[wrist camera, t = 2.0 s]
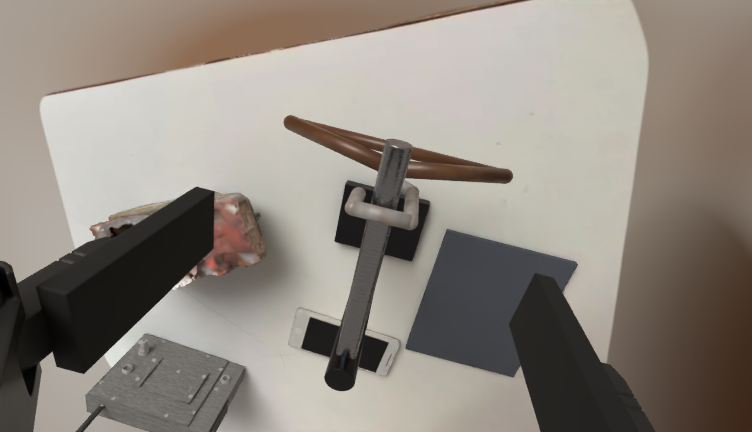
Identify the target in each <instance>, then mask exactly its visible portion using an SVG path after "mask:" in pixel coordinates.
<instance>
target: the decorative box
mask: <svg viewBox="0 0 752 432" xmlns="http://www.w3.org/2000/svg"><path fill="white" fill-rule="evenodd" d="M172 201H174V200H171V201H166V202H161V203H155V204H150V205H145V206H140V207H137V208H133V209H130V210H126V211H122V212H119V213H116V214H114V215H111V216H109V221H106V222H102V223H101V222H100V223H98V224H96V225H92V226H91V228H89V229H90V230H91V231H92V233H93V236H95V240H96V239H99V238H103V237H106V236H108V237H112V238H114V237H116V236H118V235H119V234H121V233H123V232H124V231H126V230H127V229H129V228H131V227H132V226H134V225H135V224H137V223H139V222H140V221H142V220H143V219H145V218H147V217H148V216H150V215H151V214H153V213H155V212H156V211H158V210H160V209H161V208H163V207H164V206H166V205H168V204H169V203H171V202H172ZM260 216H261V215H260V213H254V211H253V208H252V206H251V203H250V200H249V199H248V198H246V197H245V196H244V195H243V194H241V193H230V194H220V193H218V192H215V200H214V249H213V250H212V251H211V252H210V253H209V254H208V255H207V256H206V257H204V258H203V259H202V260H201V261H200V262H199V263H198V264H197V265H196V266H195V267H194V268H193V269H192V270H191V271H190V272H189V273H188V274H187V275H186V276H185V277H184V278H183V279H182V280H181V281H180V282H179V283H178V284H177V285H175V286H174V287H173V288H172V289H171V290H174V289H175V290H177V288H179V285H180V286H181V287H182V286H185V285H186V284H189V283H190V282H192V281H193V280H195V279H197V278H202V277H204V276H206V275H216V276H219V275H224V274H226V273H229V272H230V271H231V270H233V269H234V268H236V267H238V266H244V267H248V266H247V265H253V264H256V263H258V262H259V261H260V260H261V259H262V258H263V257H265V256H266V248H265V246H264V243H263V240H262V232H261V230H260V226H259V224H258V222H257V220H258V219H259V218H260Z"/></svg>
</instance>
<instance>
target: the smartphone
mask: <svg viewBox="0 0 752 432" xmlns="http://www.w3.org/2000/svg"><path fill="white" fill-rule="evenodd" d="M340 324H341V321H339V320H336V319H333V318H330V317H327V316H324V315H321V314H318V313H315V312H312V311H309V310H305V309H302V308H298V310H297V312H296V316H295V320H294V323H293V327H292V331H291V335H290V339H289V342H288V345H290V346H292V347H295V348H298V349H301V350H304V351H307V352H310V353H313V354H316V355H319V356H322V357H325V358H329V359H330V357H331V354H332V350H333V347H334V344H335V341H336V337H337V334H338V331H339V328H340ZM399 343H400V341H399V340H397V339H394V338H391V337H388V336H385V335H382V334H379V333H376V332H373V331H370V330H367V329H366V333H365V337H364V342H363V347H362V352H361V356H360V361H359V366H358V368H359V369H362V370H365V371H368V372H372V373H375V374H378V375H381V376H386V374H387V371H388V369H389V367H390V365H391V363H392V361H393V358H394V356H395V354H396V352H397V350H398V348H399Z"/></svg>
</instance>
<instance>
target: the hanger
mask: <svg viewBox="0 0 752 432" xmlns="http://www.w3.org/2000/svg"><path fill="white" fill-rule="evenodd" d="M284 126H285V127H286V128H287V129H288V130H290V131H292V132H294V133H297V134H299V135H301V136H303V137H305V138H307V139H310V140H312V141H314V142H316V143H318V144H320V145H322V146H325V147H327V148H329V149H331V150H333V151H335V152H338V153H340V154H342V155H344V156H346V157H348V158H350V159H353V160H355V161H357V162H359V163H361V164H363V165H365V166H368V167H370V168H372V169H374V170H376V171H379V166H380V162H381V158H382V154H380V153H378V152H376V151H380V152H383V149H384V145H385V141H386V140H384V139H380V138H376V137H372V136H368V135H364V134H360V133H356V132H352V131H348V130H344V129H339V128H335V127H331V126H327V125H323V124H319V123H315V122H311V121H307V120H303V119H300V118H297V117H295V116H292V115H289V116H287V117H286V118H285V119H284ZM371 149H372V150H371ZM373 150H376V151H373ZM410 159H412V160H416V161H420V162H414V161H409V165H408V168H407V172H406V176H405V178H413V179H431V180H449V181H467V182H484V183H502V184H506V183H509V182H510V181H511V180H512V178H513V174H512V172H511V171H510V170H509V169H502V168H496V167H492V166H488V165H484V164H480V163H476V162H472V161H468V160H464V159H460V158H456V157H452V156H448V155H444V154H440V153H436V152H432V151H428V150H424V149H420V148H416V147H413V150H412V154H411V157H410ZM401 193H402V194H403V195H405V203H404V211H403V212H400V211H396V210H392V209H388V208H384V207H380V206H376V205H372V204H368V203H364V199H365V196H366V193H365V190H364V189H363V188H361V187H356V188H354V189H353V190H352V192H351V194H350V196H349V198H348V200H347V202H346V204H345V211H346V213H347V214H349V215H351V216H355V217H359V218H363V219H367V220H371V221H375V222H379V223H383V224H387V225H391V226H395V227H399V228H403V229H407V230H413V229H415V228H416V227H417V225H418V211H419V190H418V188H417V187H415V186H414V185H412V184H410V183H409V182H407V181H406V180H404V183H403V187H402V191H401Z"/></svg>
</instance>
